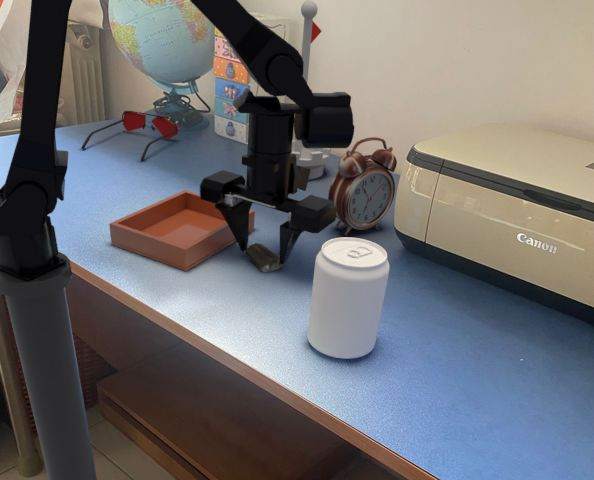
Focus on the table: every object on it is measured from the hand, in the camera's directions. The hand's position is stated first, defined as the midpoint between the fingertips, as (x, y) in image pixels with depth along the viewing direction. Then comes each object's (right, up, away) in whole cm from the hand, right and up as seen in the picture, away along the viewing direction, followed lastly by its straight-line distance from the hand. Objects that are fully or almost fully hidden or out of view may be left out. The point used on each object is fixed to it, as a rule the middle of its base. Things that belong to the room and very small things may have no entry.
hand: (263, 257), depth 85 cm
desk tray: (-12, +4, +5) cm, 14 cm away
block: (0, -1, +1) cm, 1 cm away
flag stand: (+5, +23, +35) cm, 42 cm away
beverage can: (+10, -13, -14) cm, 22 cm away
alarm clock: (+15, +7, +13) cm, 21 cm away
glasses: (-30, +30, +40) cm, 58 cm away
